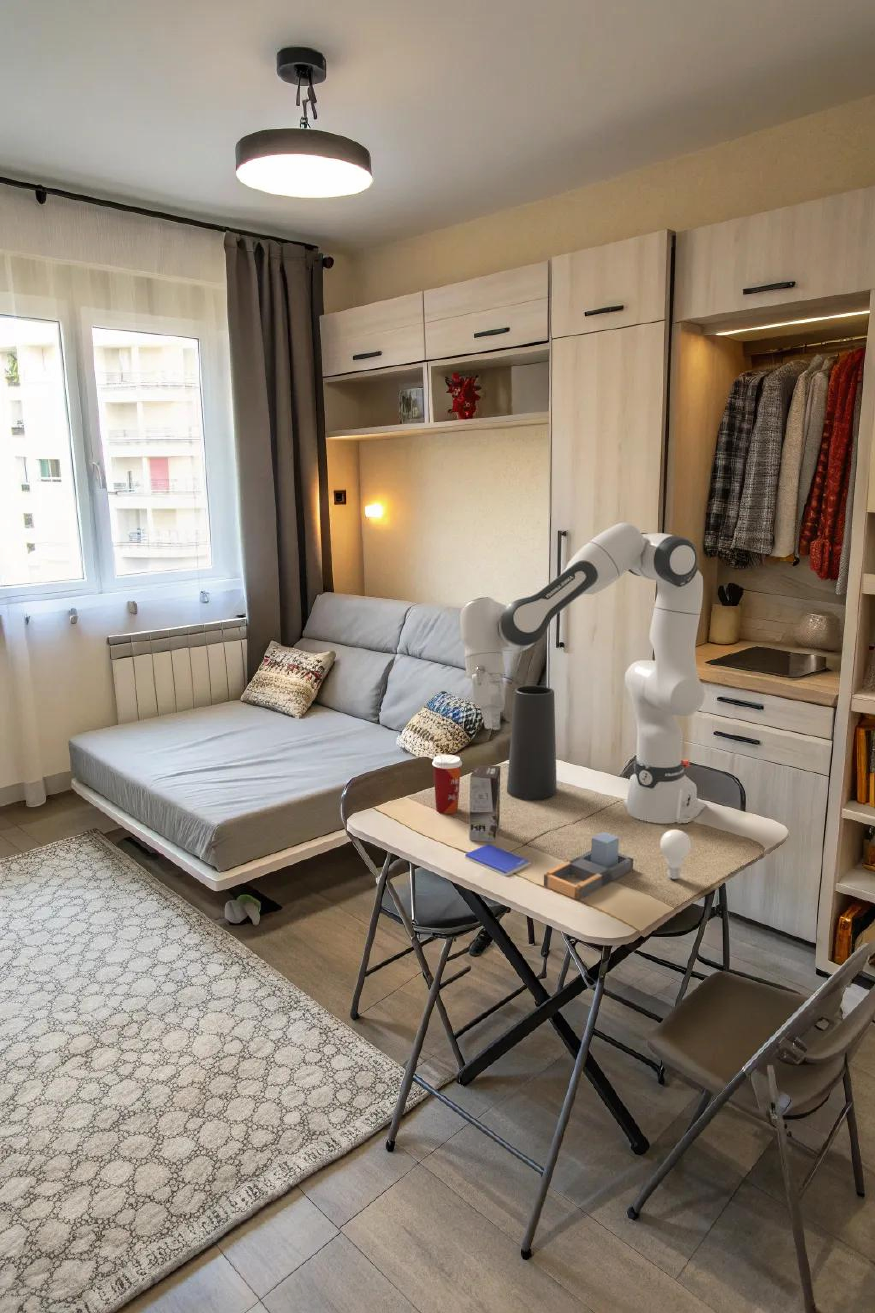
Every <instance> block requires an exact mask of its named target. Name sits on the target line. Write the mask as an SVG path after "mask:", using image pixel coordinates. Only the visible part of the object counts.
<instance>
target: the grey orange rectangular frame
mask: <svg viewBox="0 0 875 1313" xmlns="http://www.w3.org/2000/svg"><path fill="white" fill-rule="evenodd" d="M633 868H634V858H633V857H630V856H627V855H624V854H622V853H619V852H618V864H616V865H615V866H613V867H611V868H609V869H608V868H605V867H603V866H600V865H598V864H595V863H592V862H591V850H589V851H587V852H585V853H583V854H581V855H579V856H577V857H576V858H573V859H571V860H569V861H565V862H563V863H561V864H559V865H557V866H555V867H554V868H551V869H549V870H548V871H546V872H545V873H544V874H543V886H545V887H547V888H549V889H551V890H553V891H556V892H558V893H560V894H563V895H565V896H567V897H570V898H572V899H574V900H576V901H580V900H581V899H584V898H585V897H587V896H589V895H591V894H593V893H594V892H596V891H597V890H599V889H601V888H603V887H604V886H606V885H608V884H610V883H612V882H613V881H615V880H617V879H619V878H620V877H622V876H624V875H625V873H626V874H627V873H630V872H631V871H632V870H634V869H633ZM569 876H573V877H574V878H577V879H580V880H583V881H581V882H579V883H578V884H574V883H572V882H569V881H568V880H565V878H567V877H569ZM586 895H587V896H586ZM583 897H584V898H583Z"/></svg>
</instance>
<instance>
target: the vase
mask: <svg viewBox="0 0 875 1313" xmlns="http://www.w3.org/2000/svg"><path fill="white" fill-rule="evenodd" d="M555 711H556V709H555V690H554V689H553V688H552V687H549V686H543V685H529V684H528V685H522V686H518V687H515V688H514V694H513V706H512V718H511V728H510V730H511V731H510V742H509V744H510V745H509V755H508V768H507V769H508V770H507V781H506V782H507V783H506V784H507V785H506V793H507V794H508V795H510V797H513V798H515V799H518V800H522V801H527V802H528V801H529V802H533V801H534V802H535V801H537V802H538V801H546V800H550V799H553V798H555V797H556V795H557V793H558V792H557V791H558V788H557V786H558V784H557V781H558V780H557V750H556V749H557V747H556V712H555Z"/></svg>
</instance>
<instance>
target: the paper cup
mask: <svg viewBox="0 0 875 1313" xmlns="http://www.w3.org/2000/svg"><path fill="white" fill-rule="evenodd" d="M431 764H432V766H433V780H434V781H433V782H434V797H435V800H434V801H435V810H436V812H437V813H439V814H441V813H443V815H453V814H455V813H457V812H458V809H459V797H460V785H461V784H460V781H461V767H462V765H463V763H462V761H461V758H460V756H457V755H453V754H441V755H437V756H435V757H434V758H433V760H432V763H431Z"/></svg>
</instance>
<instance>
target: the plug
mask: <svg viewBox="0 0 875 1313" xmlns="http://www.w3.org/2000/svg"><path fill="white" fill-rule="evenodd" d="M619 845H620V836H616V835H614V834H611V833H608V832H605V831H602V832H600V833H599V834H597V835H595V836H592V837H591V845H590V846H591V848H590V851H591V862H592V863H595V864H598V865H600V866H603V867H605V868H608V869H609V868H611V867H613V866H615V865H616V864H618V853H619V848H620V847H619Z"/></svg>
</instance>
